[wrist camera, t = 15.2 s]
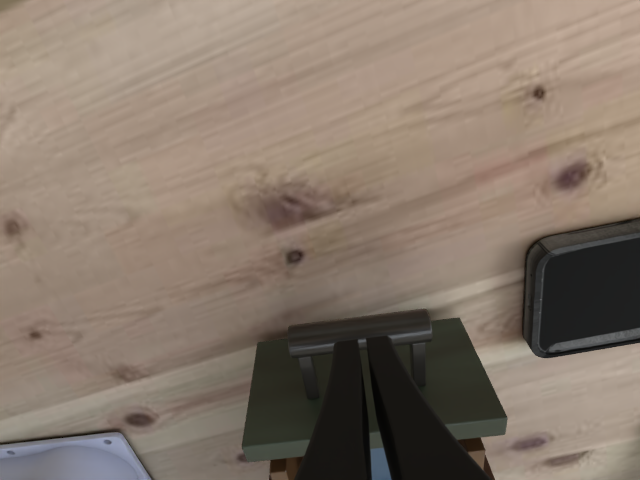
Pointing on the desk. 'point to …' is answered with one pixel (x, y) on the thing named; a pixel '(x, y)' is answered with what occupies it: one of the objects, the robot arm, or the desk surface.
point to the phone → (583, 290)
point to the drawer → (365, 384)
